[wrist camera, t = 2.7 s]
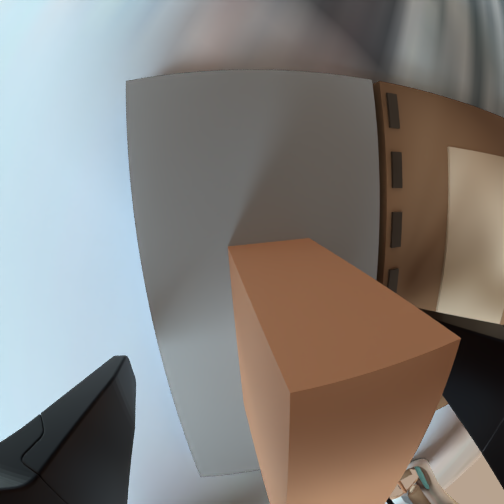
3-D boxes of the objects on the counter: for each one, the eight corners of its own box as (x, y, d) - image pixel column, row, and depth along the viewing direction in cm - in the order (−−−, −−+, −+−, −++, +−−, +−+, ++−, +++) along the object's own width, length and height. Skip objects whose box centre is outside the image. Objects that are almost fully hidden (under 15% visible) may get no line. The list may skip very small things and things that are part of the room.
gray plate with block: (337, 428, 14) (397, 534, 6) (198, 454, 12) (214, 582, 5) (350, 89, 9) (526, 29, 2) (136, 93, 8) (26, -46, 1)
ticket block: (474, 369, 15) (488, 380, 14) (342, 427, 14) (353, 447, 12) (508, 128, 11) (528, 128, 9) (357, 90, 9) (381, 80, 8)
